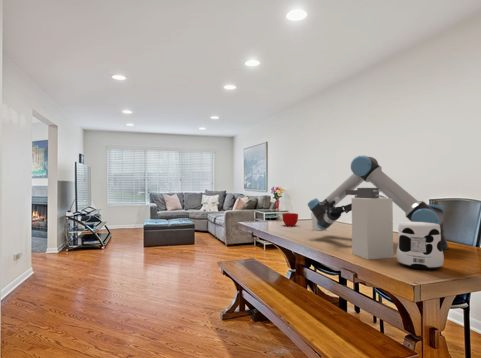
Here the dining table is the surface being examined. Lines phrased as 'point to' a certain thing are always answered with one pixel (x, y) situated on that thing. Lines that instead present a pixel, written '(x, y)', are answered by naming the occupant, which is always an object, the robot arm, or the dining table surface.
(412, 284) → the dining table surface
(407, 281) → the dining table surface
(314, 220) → the foam cup
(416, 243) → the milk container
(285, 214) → the ceramic cup
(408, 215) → the robot arm
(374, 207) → the pillar
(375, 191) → the plug
